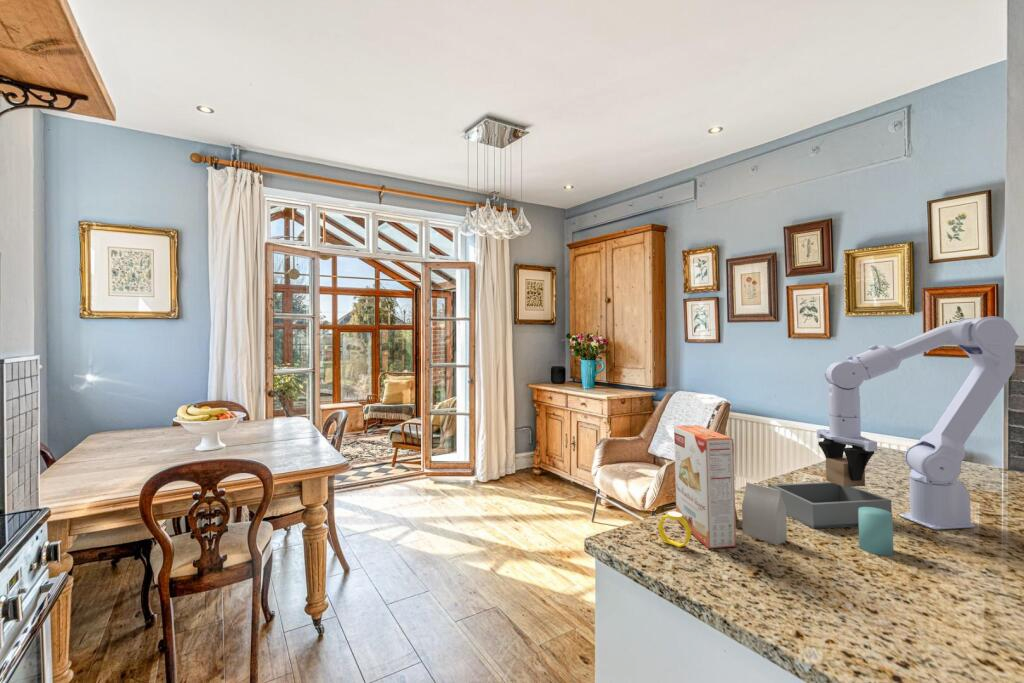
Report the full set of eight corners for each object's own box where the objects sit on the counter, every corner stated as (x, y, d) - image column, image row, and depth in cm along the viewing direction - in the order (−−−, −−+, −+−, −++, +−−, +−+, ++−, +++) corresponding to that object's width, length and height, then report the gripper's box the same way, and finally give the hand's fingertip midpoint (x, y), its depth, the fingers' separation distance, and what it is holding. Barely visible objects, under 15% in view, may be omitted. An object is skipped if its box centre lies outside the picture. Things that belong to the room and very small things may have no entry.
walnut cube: (846, 479, 107) (846, 457, 107) (865, 485, 102) (864, 463, 102) (826, 480, 107) (825, 458, 107) (843, 487, 102) (843, 463, 102)
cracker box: (674, 521, 101) (672, 425, 102) (701, 520, 102) (699, 424, 102) (706, 549, 88) (704, 438, 88) (737, 548, 88) (735, 436, 88)
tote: (840, 502, 111) (839, 481, 111) (891, 524, 98) (891, 500, 98) (770, 506, 110) (770, 484, 110) (813, 528, 96) (812, 504, 96)
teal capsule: (876, 543, 89) (875, 506, 89) (900, 554, 84) (899, 515, 84) (852, 544, 89) (851, 507, 89) (875, 556, 84) (874, 517, 84)
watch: (656, 542, 91) (655, 511, 91) (662, 538, 93) (662, 508, 93) (686, 551, 87) (686, 519, 87) (692, 546, 89) (692, 515, 89)
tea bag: (776, 545, 89) (775, 492, 89) (742, 533, 95) (741, 484, 95) (786, 540, 91) (785, 489, 91) (752, 529, 97) (751, 480, 97)
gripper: (804, 411, 111) (805, 468, 111) (854, 421, 97) (856, 487, 97) (831, 410, 112) (833, 467, 112) (886, 420, 97) (887, 485, 97)
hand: (845, 476), depth 104 cm, fingers closed on walnut cube, 5 cm apart
